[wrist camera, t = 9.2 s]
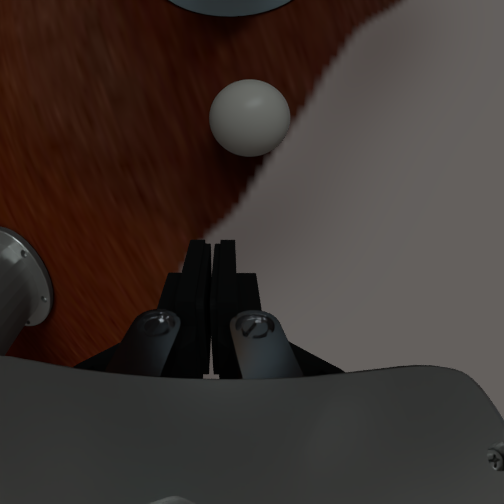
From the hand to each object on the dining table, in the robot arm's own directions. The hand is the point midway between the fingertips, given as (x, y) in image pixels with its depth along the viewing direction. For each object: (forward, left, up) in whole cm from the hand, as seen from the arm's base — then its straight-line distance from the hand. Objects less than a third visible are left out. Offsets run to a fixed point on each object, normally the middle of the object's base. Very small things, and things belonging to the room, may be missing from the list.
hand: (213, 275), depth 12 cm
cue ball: (+5, +3, -11) cm, 13 cm away
